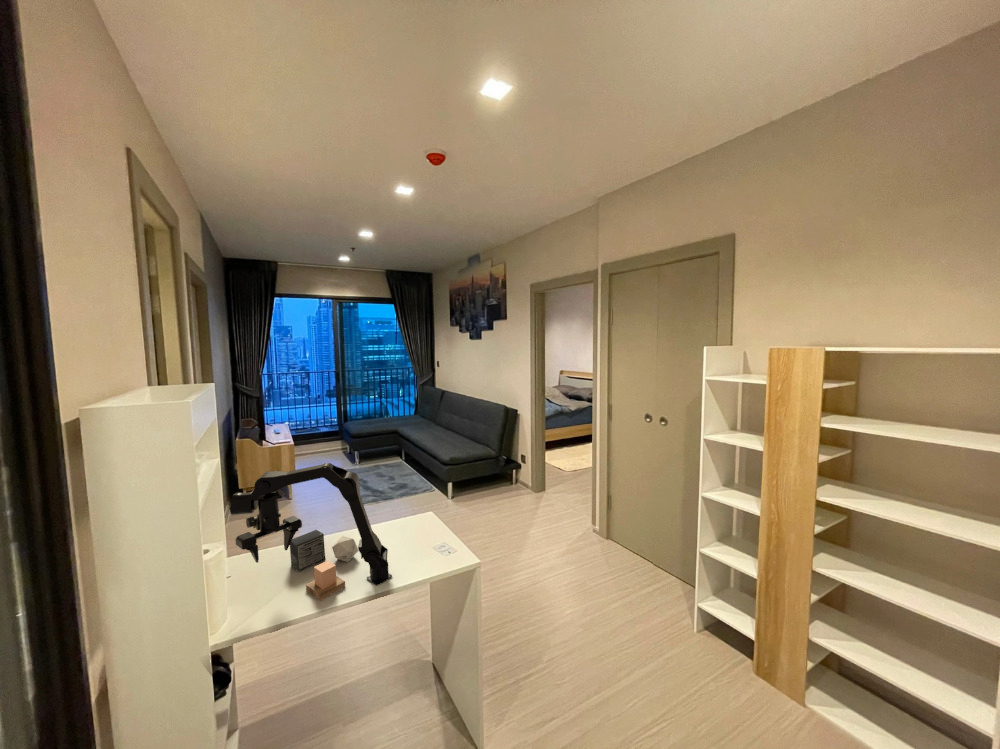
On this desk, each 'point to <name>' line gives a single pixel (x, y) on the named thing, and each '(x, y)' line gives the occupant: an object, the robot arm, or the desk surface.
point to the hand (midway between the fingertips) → (271, 555)
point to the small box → (307, 550)
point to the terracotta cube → (325, 574)
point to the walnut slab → (325, 589)
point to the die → (345, 548)
